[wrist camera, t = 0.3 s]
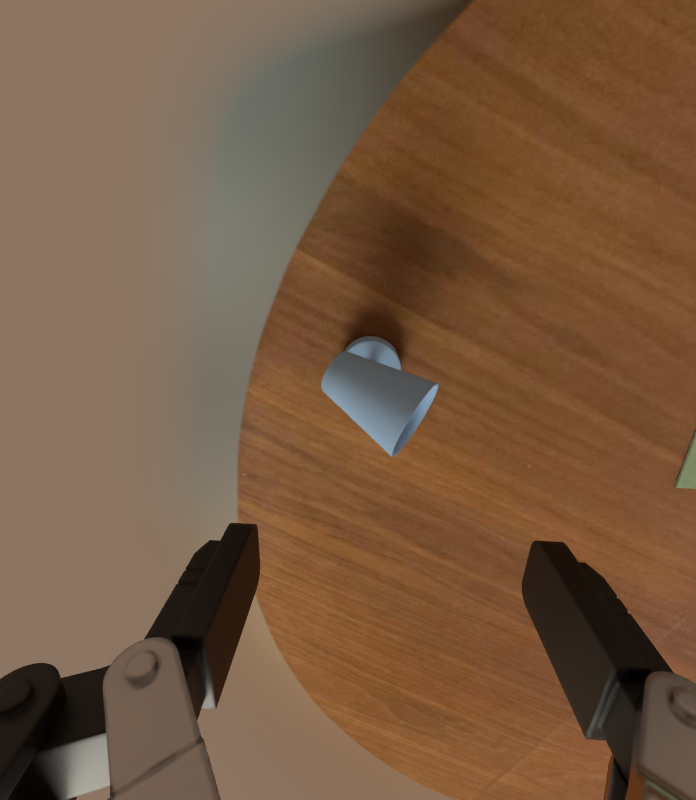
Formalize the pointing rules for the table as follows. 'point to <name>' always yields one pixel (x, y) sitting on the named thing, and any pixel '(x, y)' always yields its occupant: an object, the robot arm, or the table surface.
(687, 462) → the mat
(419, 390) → the spotlight
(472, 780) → the table surface
